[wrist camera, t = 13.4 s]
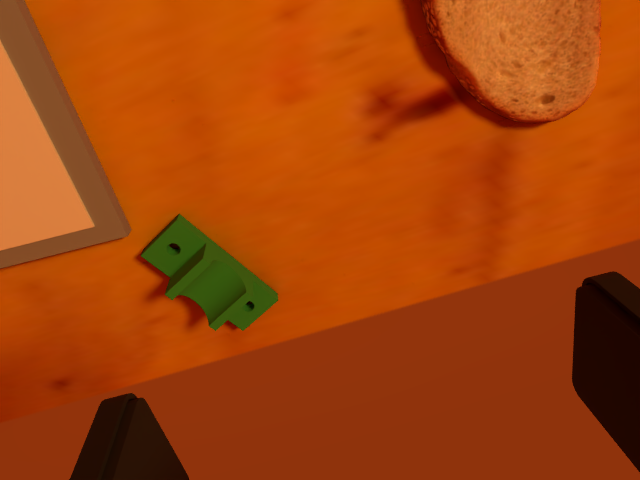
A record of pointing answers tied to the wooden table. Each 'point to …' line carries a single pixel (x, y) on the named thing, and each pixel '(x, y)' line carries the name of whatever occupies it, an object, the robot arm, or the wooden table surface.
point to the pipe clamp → (208, 276)
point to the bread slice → (520, 52)
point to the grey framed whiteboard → (45, 155)
